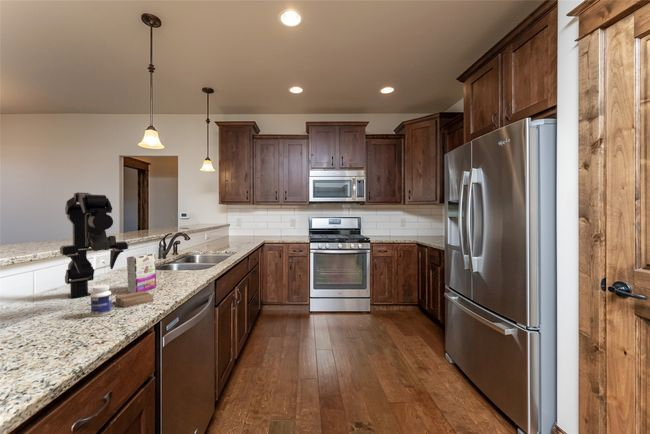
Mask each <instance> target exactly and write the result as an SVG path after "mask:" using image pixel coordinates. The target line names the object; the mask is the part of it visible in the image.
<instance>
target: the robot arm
mask: <svg viewBox="0 0 650 434" xmlns="http://www.w3.org/2000/svg"><path fill="white" fill-rule="evenodd" d="M64 207H65V209H64V211H65V215H67V216H66V217H67V220H68V221H69V222H70V224H71V225H72V244H67V245H61V246H60V247H59V254H60V255H62V256H64V257H68V258H70V259H71V260H70V261H69V263H68V265H67V269H66V271H65V276H64V283H65V284H66V285H69V286H70V287H69V289H70V290H69V292H70V293H69V294H68V295H67V297H68V298H70V299H76V298H82V297H88V296H91V295H92V293H90V292H89V281H90V282H91V281H93V280H94V279H95V278H94V274H95V268H94V267H93V265H92V263H91V262H90V261H89V259H88V257H87V252H90V251H93V252H98V251H108V250H110V253H109V254H110V259H109V265H110V266H109V267H110V269H111V270H113V269H114V267H115V264H116V261H117V259H118V257H119V255H120V254H121V253H124V252H125V250H129V244H128V242H126V241H122V240H121V241H117V238H116V235H108V236H107V231H106V230H108V229H110V228H112V226H113V225H114V220H113V218H112V216H111V215H110V214H112V211H113V207H112V204H111V201H110V200H109V198H108V197H107V195H106V194H92V193H89V192H75V193H73V197H71V198H69V199H68V200H67V201H66V203H65V206H64Z"/></svg>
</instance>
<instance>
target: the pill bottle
mask: <svg viewBox="0 0 650 434" xmlns="http://www.w3.org/2000/svg"><path fill="white" fill-rule="evenodd" d="M92 291H93V292H92V293H91V295H90V314H91V316H92V317H103V316H106V315H109V314H111V313H112V310H113V309H112V308H113V307H112V291H111V290H110V285H109V284H100V285H94V286H93V287H92Z"/></svg>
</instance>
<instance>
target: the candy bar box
mask: <svg viewBox="0 0 650 434" xmlns="http://www.w3.org/2000/svg"><path fill="white" fill-rule="evenodd" d="M126 267H127V268H126V269H127V270H126V271H127V291H128V292H127V294H130V293H135V292H140V291H146V292H148V291H149V289H150V290H152V289H156V287H157V277H156V276H157V272H156V253H149V252H148V253H143V254H138V255H132V256H128V257H126Z"/></svg>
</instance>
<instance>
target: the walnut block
mask: <svg viewBox="0 0 650 434" xmlns="http://www.w3.org/2000/svg"><path fill="white" fill-rule="evenodd" d="M153 301H154V294H151V293H150V292H148V291H140V292H135V293H125V294H121V295H116V296H115V303H116V304H117V305H119V306H120V307H122V308H123V309H124V308H129V307H130V308H131V307H134V306H138V305H144V304H146V303H147V304H148V303H152V302H153Z"/></svg>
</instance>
